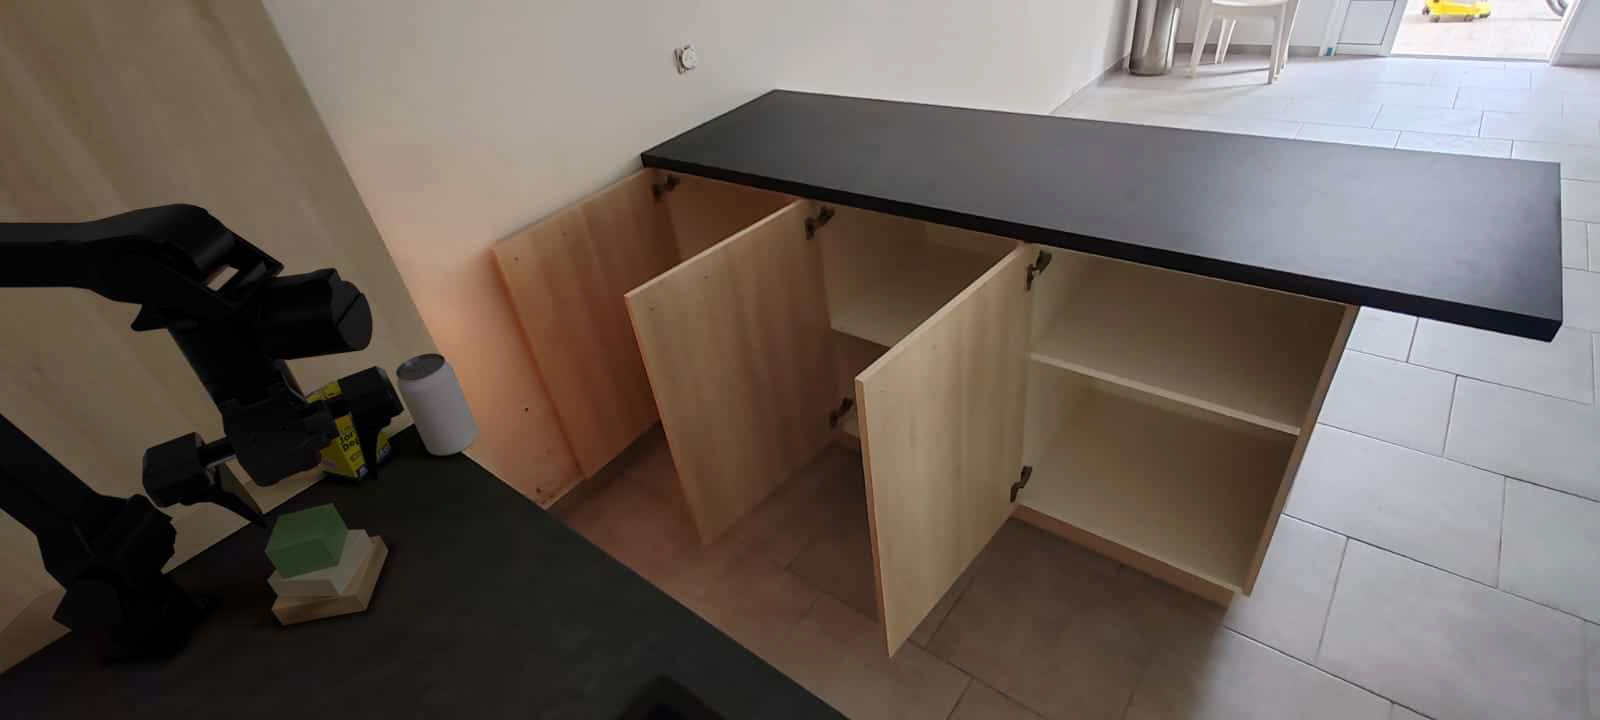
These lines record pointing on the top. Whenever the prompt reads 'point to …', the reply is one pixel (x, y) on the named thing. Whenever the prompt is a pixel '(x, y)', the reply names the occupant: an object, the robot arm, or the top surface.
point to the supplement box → (345, 443)
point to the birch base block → (347, 602)
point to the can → (436, 404)
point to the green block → (307, 541)
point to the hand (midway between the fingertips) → (322, 501)
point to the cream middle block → (327, 571)
